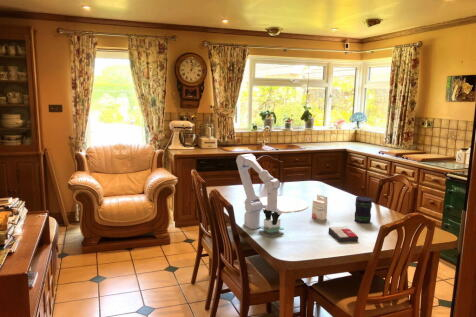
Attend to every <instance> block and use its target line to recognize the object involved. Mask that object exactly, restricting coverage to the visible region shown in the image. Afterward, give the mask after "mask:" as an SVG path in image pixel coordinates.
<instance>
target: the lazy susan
mask: <svg viewBox="0 0 476 317" xmlns="http://www.w3.org/2000/svg"><path fill="white" fill-rule="evenodd" d="M259 198H260V201H261V202H262V204H263V205H267V196H263V197H259ZM277 208H278V209H279V210H281V211H282V213H296V212H302V211H304V210H306V209H307V208H309V204H308V203H307V201H305V200H303V199H300V198H296V197H291V196H279V195H277ZM263 210H265V209H264V208H262V210H261V211H263Z"/></svg>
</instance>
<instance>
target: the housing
mask: <svg viewBox="0 0 476 317" xmlns="http://www.w3.org/2000/svg"><path fill="white" fill-rule="evenodd" d="M263 226H264V229H266V230H267V229H268V230H271V229H276V228H280V227H281V218H280V217H279V218H278V221H277V224H276V225H273V220H272V216H271V218H266V217H265V218H263ZM264 229H263V230H264Z"/></svg>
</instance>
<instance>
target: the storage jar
mask: <svg viewBox="0 0 476 317" xmlns="http://www.w3.org/2000/svg"><path fill="white" fill-rule="evenodd" d="M372 202H373V198H371V197H368V196H356V197H355V203H354V205H355V211H354V220H353V221H354V222H356V223H357V224H361V225H362V224H364V225H367V224H370V223H371V219H372V206H373V203H372Z"/></svg>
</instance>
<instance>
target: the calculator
mask: <svg viewBox="0 0 476 317" xmlns="http://www.w3.org/2000/svg"><path fill="white" fill-rule="evenodd" d="M328 234H329V235H330V236H332V238H334V239H335V240H336V241H337V242H338V243H341V244H342V243H357V241H358V242H359V236H358V235H357V234H356V233H355V232H354V231H353V230H351V229H350V228H349V227H347V226H345V225H344V226H331V227H328Z"/></svg>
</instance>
